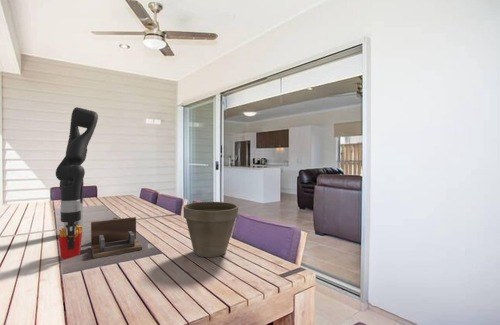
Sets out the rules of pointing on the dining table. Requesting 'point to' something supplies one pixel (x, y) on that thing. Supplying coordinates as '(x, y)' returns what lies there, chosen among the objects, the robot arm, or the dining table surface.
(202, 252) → the plant pot
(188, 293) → the dining table surface
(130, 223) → the wooden shelf
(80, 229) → the french fries
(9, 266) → the dining table surface
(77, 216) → the robot arm
